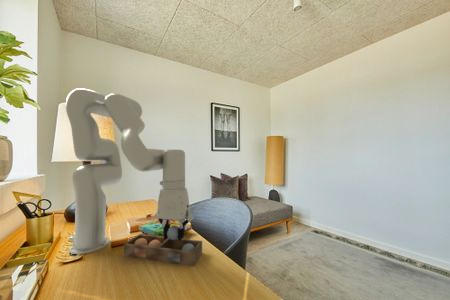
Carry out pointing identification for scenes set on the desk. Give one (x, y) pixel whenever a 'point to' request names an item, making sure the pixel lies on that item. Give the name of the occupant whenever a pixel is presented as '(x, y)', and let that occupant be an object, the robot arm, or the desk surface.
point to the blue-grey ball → (188, 247)
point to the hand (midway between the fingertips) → (174, 237)
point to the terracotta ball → (154, 243)
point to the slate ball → (173, 232)
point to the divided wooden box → (164, 250)
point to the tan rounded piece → (141, 242)
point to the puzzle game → (158, 228)
